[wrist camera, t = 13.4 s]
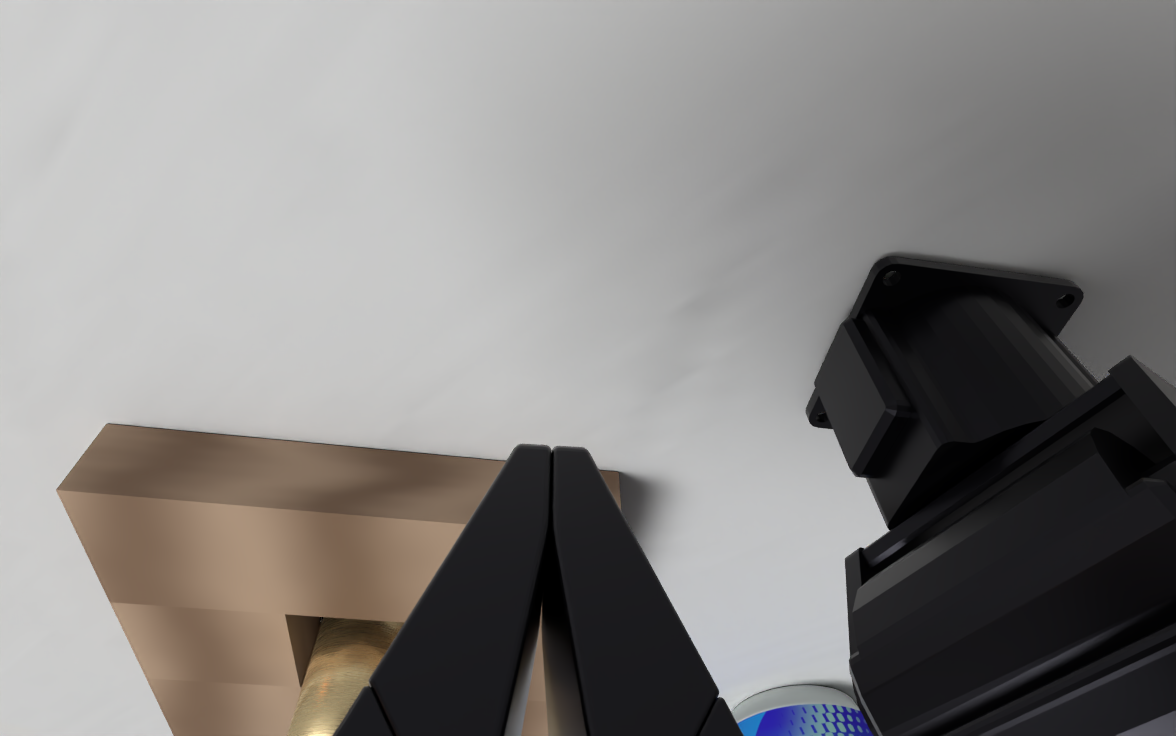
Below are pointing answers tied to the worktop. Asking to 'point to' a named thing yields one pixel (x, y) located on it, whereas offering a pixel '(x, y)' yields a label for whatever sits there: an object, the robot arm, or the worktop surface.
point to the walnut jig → (263, 558)
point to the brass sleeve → (339, 672)
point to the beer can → (800, 713)
